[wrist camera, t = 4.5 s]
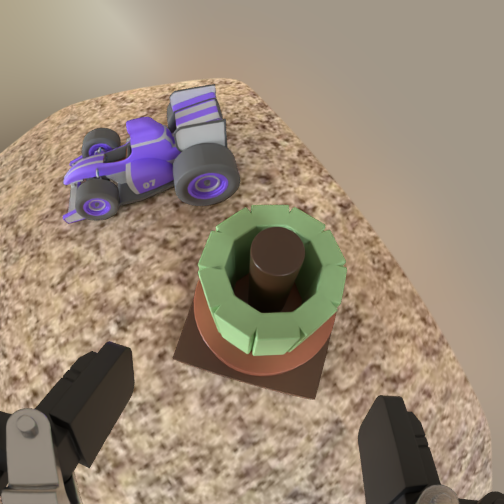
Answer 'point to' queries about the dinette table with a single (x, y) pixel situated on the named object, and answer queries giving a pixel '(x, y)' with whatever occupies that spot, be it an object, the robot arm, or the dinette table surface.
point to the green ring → (237, 266)
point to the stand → (265, 301)
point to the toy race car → (156, 159)
